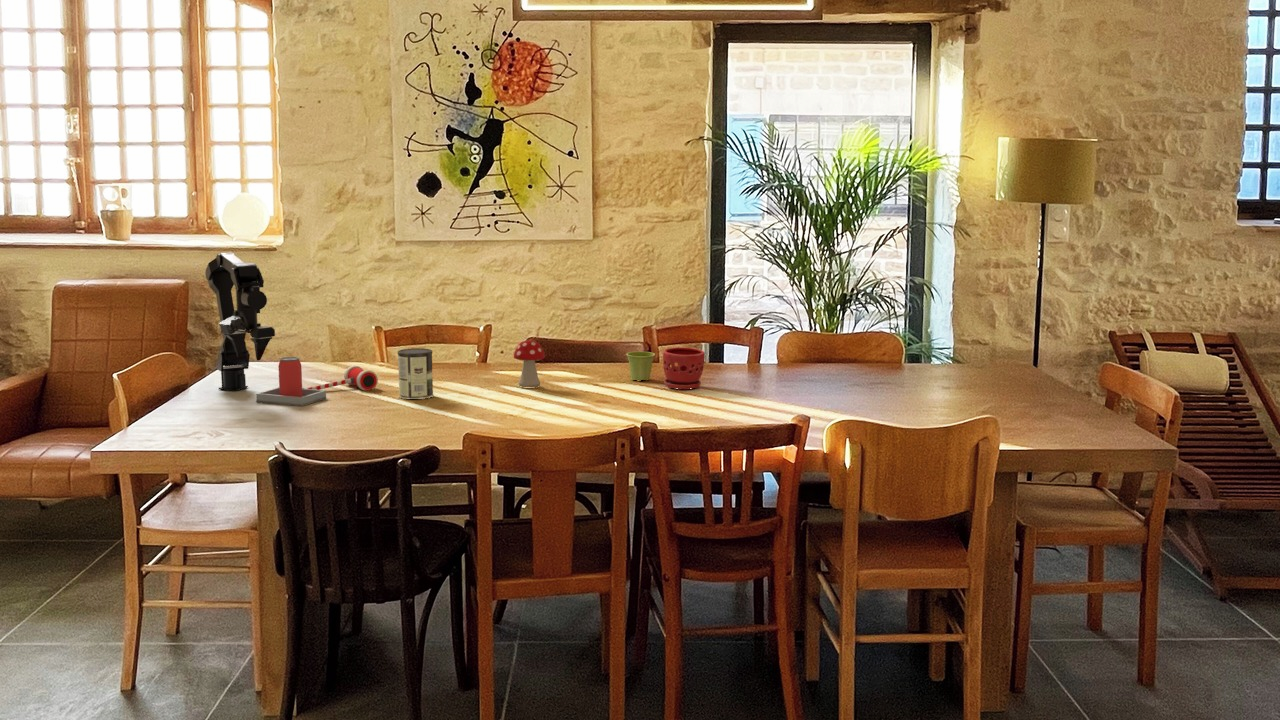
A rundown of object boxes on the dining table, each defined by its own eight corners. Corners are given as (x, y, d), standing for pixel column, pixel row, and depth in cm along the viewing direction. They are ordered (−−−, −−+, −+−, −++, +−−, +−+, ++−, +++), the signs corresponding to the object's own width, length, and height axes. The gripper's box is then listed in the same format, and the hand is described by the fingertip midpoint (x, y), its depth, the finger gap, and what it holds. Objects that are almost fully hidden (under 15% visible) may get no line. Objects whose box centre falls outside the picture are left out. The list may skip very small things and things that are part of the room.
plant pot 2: (656, 389, 400) (656, 352, 398) (671, 382, 412) (671, 345, 410) (695, 393, 396) (696, 354, 394) (709, 385, 408) (710, 348, 406)
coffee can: (419, 392, 394) (418, 346, 391) (440, 396, 387) (439, 350, 384) (391, 396, 386) (390, 350, 384) (412, 401, 379) (411, 354, 377)
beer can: (303, 395, 383) (302, 356, 381) (301, 400, 377) (299, 360, 375) (281, 396, 382) (279, 356, 380) (278, 400, 376) (276, 360, 374)
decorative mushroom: (547, 385, 406) (547, 338, 404) (542, 390, 398) (542, 342, 395) (516, 384, 407) (516, 337, 405) (511, 389, 399) (510, 341, 396)
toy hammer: (308, 398, 385) (307, 377, 384) (293, 391, 394) (292, 371, 393) (378, 390, 398) (378, 370, 397) (362, 384, 408) (362, 364, 406)
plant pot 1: (660, 379, 418) (660, 353, 416) (644, 383, 410) (645, 357, 408) (636, 376, 423) (636, 350, 421) (620, 380, 415) (620, 354, 413)
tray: (256, 402, 377) (256, 393, 376) (281, 394, 388) (280, 386, 387) (302, 406, 371) (302, 397, 371) (326, 398, 382) (325, 390, 382)
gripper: (204, 306, 377) (206, 358, 379) (242, 311, 365) (245, 365, 368) (236, 302, 385) (238, 354, 388) (275, 308, 374) (277, 360, 377)
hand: (249, 358), depth 380 cm, fingers open, 9 cm apart
